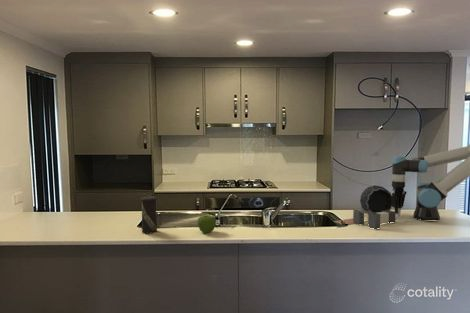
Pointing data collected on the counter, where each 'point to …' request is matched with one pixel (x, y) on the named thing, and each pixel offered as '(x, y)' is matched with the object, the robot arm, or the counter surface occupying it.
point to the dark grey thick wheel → (376, 199)
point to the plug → (386, 216)
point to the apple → (206, 223)
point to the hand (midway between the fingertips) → (397, 218)
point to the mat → (348, 221)
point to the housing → (373, 218)
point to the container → (149, 214)
